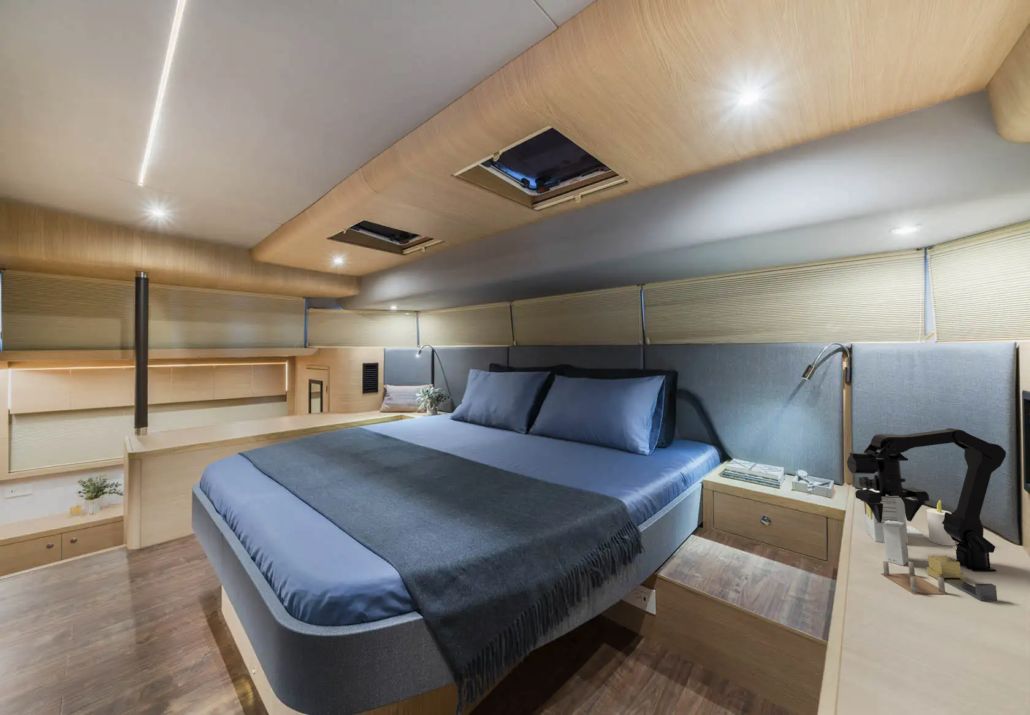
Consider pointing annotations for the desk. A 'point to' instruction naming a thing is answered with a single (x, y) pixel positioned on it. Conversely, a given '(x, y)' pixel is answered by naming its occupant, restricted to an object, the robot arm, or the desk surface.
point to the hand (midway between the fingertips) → (894, 521)
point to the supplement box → (884, 517)
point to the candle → (938, 526)
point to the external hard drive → (913, 531)
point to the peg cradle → (914, 581)
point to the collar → (944, 567)
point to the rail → (975, 589)
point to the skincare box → (895, 542)
